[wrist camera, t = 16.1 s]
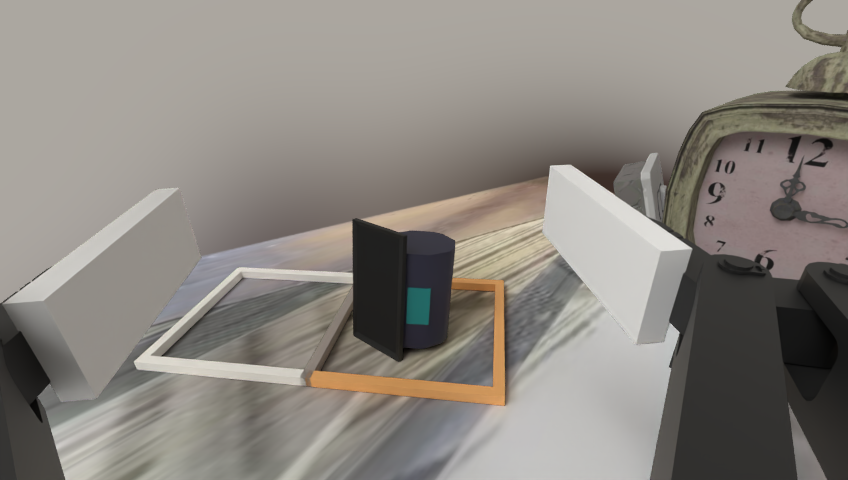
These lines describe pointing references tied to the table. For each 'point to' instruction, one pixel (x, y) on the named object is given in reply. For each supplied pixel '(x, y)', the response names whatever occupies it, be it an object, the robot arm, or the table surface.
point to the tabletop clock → (771, 170)
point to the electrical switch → (643, 187)
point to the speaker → (400, 287)
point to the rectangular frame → (328, 348)
